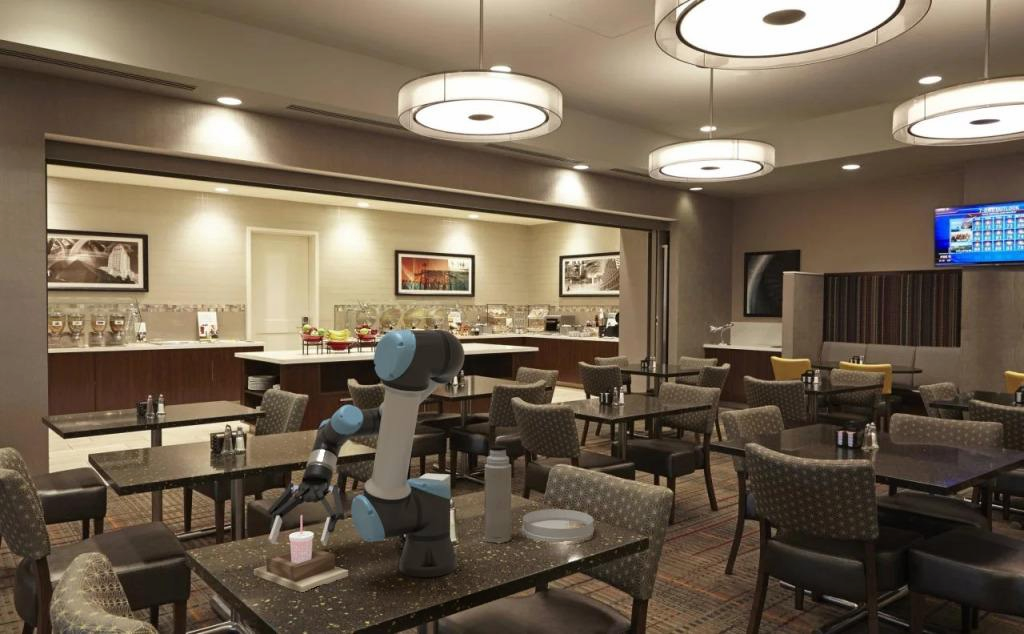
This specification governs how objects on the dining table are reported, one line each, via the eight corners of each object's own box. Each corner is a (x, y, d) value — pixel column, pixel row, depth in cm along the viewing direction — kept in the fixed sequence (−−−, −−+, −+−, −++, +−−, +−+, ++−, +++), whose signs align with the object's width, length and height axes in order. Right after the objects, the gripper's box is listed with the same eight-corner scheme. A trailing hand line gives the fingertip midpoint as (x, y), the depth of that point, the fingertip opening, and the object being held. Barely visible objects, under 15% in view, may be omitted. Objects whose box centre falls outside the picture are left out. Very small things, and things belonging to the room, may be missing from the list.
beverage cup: (306, 563, 185) (306, 510, 185) (318, 569, 181) (318, 515, 181) (284, 569, 180) (284, 515, 180) (296, 575, 176) (296, 519, 176)
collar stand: (348, 576, 180) (348, 556, 180) (302, 593, 169) (302, 572, 169) (299, 560, 192) (299, 542, 192) (253, 575, 181) (253, 555, 181)
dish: (508, 538, 213) (508, 521, 213) (544, 520, 232) (544, 505, 232) (573, 550, 202) (574, 533, 202) (605, 531, 220) (605, 515, 220)
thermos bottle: (480, 542, 208) (481, 447, 208) (489, 534, 216) (489, 443, 216) (506, 545, 206) (506, 449, 206) (514, 537, 213) (514, 444, 213)
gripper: (366, 479, 195) (348, 551, 180) (280, 477, 197) (255, 547, 182) (360, 463, 190) (341, 536, 174) (271, 461, 192) (245, 533, 177)
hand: (297, 542), depth 178 cm, fingers open, 13 cm apart
